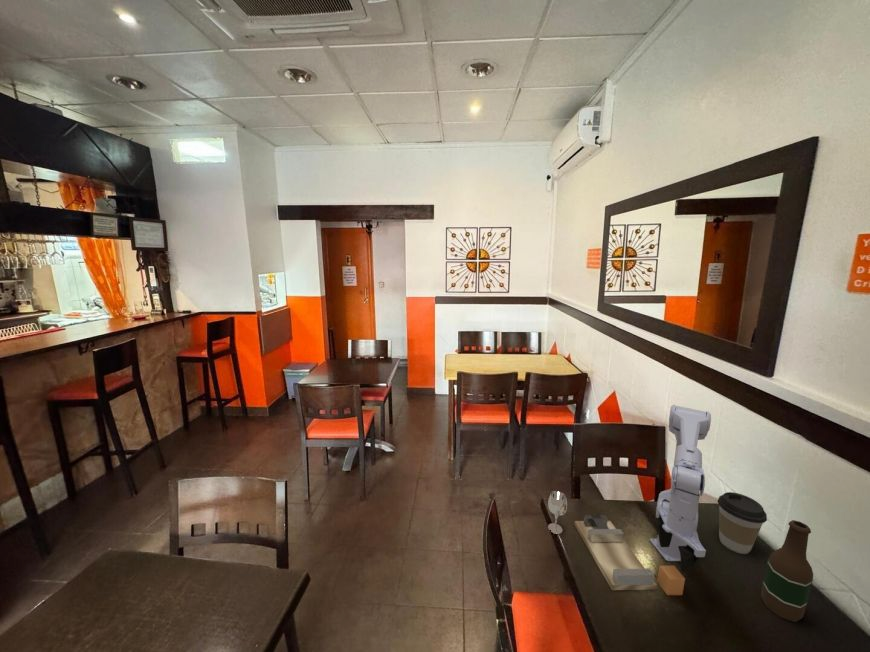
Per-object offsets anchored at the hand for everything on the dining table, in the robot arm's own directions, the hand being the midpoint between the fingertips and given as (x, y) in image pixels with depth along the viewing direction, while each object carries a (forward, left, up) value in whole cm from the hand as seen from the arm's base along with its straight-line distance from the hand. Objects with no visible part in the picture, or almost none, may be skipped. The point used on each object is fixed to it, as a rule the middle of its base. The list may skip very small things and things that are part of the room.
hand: (674, 558), depth 90 cm
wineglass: (+23, -21, -10) cm, 33 cm away
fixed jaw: (+10, 0, -8) cm, 13 cm away
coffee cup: (-31, -14, -10) cm, 35 cm away
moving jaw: (+10, -18, -8) cm, 22 cm away
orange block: (0, 0, -9) cm, 9 cm away
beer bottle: (-25, +6, -10) cm, 27 cm away
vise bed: (+10, -10, -9) cm, 17 cm away
